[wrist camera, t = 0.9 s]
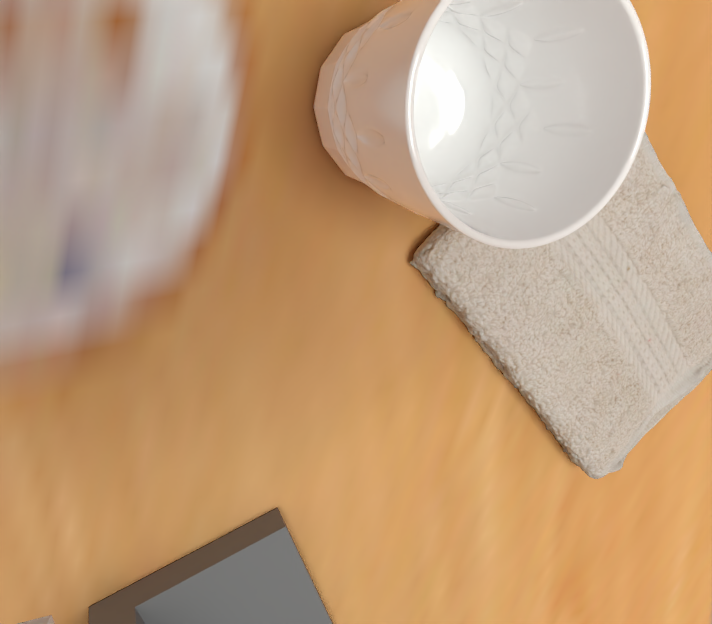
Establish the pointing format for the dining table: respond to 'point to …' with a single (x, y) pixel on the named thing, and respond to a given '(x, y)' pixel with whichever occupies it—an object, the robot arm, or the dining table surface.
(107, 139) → the dining table surface
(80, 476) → the dining table surface
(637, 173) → the washcloth
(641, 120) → the white cup
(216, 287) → the dining table surface
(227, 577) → the button panel
